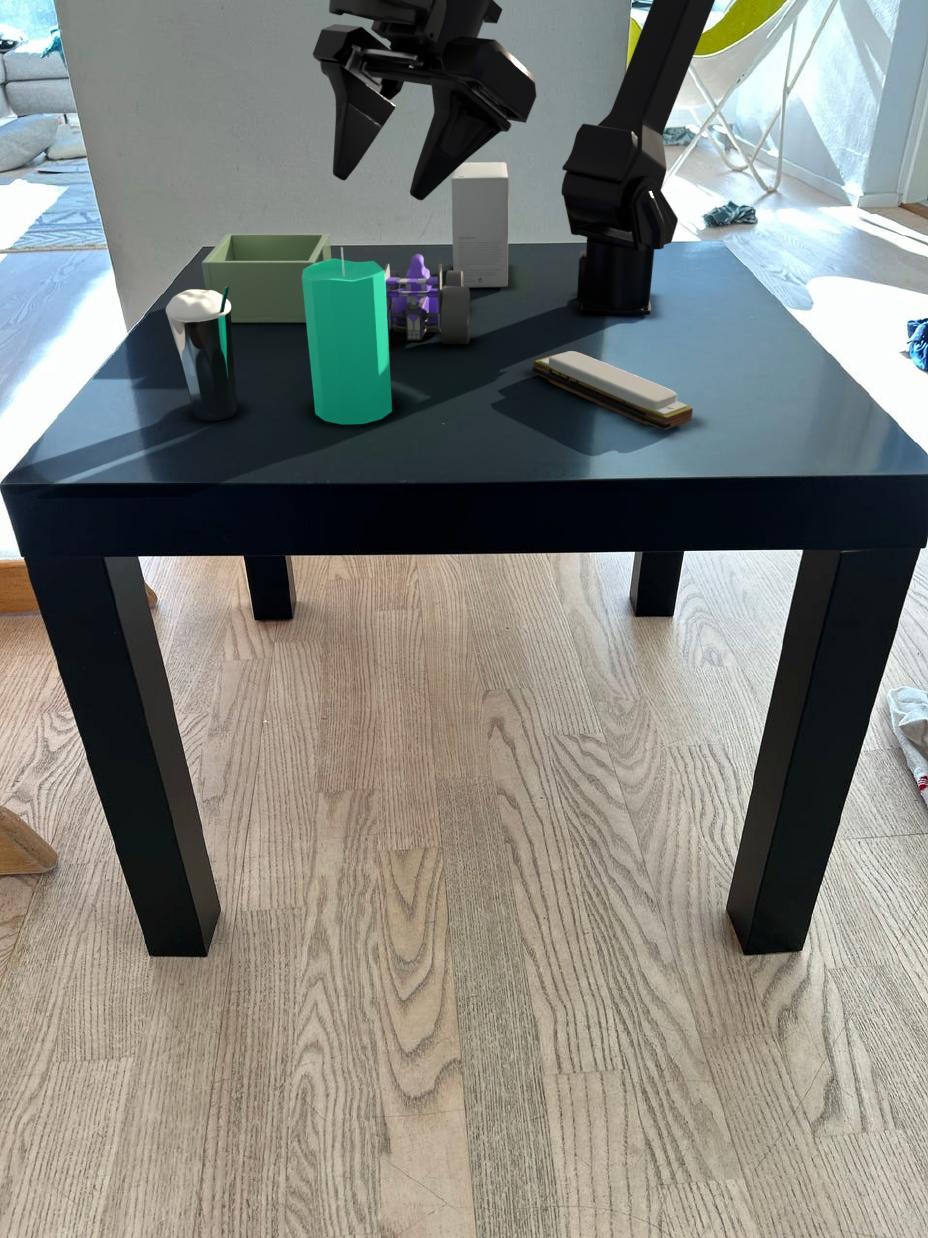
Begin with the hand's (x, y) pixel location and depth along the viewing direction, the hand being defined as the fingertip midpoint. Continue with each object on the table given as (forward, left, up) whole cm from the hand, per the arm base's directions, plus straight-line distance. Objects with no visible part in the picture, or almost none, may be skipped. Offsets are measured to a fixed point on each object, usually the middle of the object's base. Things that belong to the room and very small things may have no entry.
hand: (375, 187), depth 73 cm
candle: (+1, +6, -15) cm, 16 cm away
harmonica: (-18, +2, -15) cm, 23 cm away
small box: (-5, -29, -15) cm, 33 cm away
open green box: (+14, -18, -15) cm, 27 cm away
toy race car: (-1, -14, -15) cm, 20 cm away
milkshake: (+11, +8, -15) cm, 20 cm away
